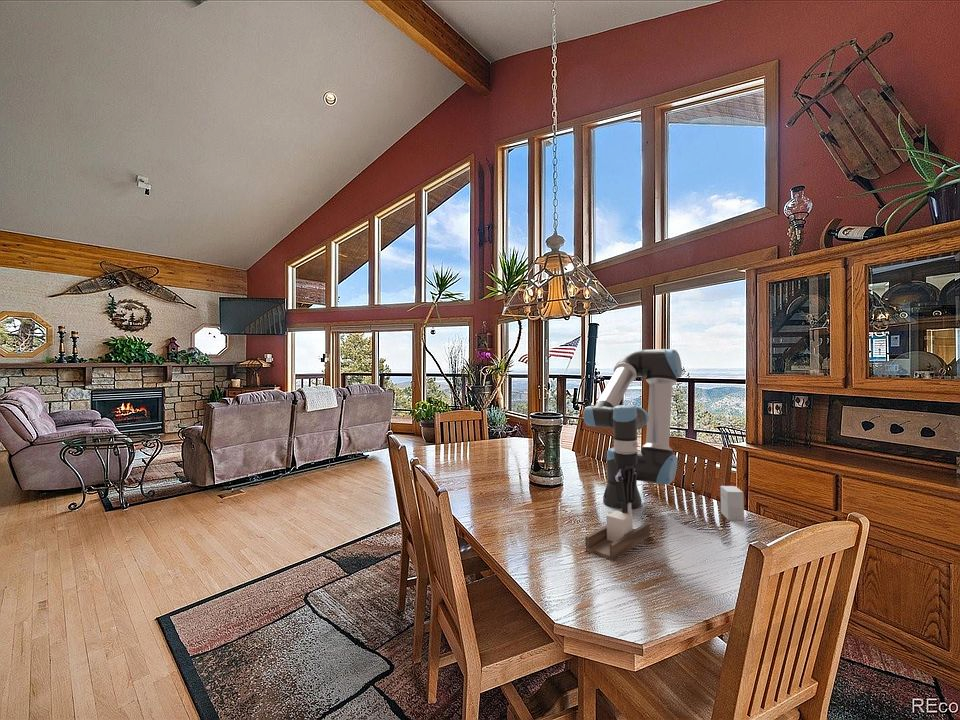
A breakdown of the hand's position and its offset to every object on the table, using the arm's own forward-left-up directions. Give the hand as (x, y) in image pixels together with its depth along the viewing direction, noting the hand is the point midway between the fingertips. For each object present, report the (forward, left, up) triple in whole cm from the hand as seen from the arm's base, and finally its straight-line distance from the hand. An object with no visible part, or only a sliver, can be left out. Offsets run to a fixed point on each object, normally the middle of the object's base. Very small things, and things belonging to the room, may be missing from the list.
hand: (626, 521), depth 151 cm
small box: (+19, +44, -6) cm, 48 cm away
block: (0, -5, -5) cm, 7 cm away
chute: (0, -5, -6) cm, 8 cm away
